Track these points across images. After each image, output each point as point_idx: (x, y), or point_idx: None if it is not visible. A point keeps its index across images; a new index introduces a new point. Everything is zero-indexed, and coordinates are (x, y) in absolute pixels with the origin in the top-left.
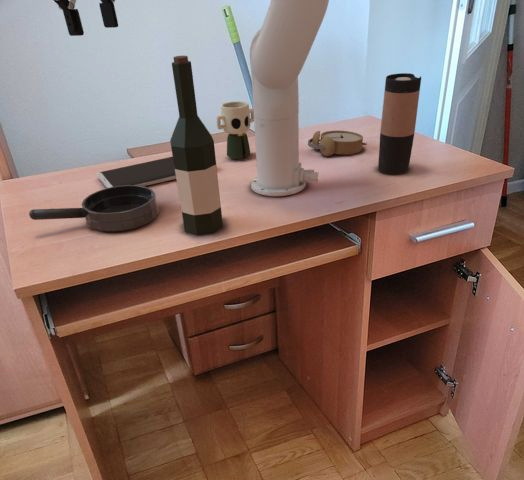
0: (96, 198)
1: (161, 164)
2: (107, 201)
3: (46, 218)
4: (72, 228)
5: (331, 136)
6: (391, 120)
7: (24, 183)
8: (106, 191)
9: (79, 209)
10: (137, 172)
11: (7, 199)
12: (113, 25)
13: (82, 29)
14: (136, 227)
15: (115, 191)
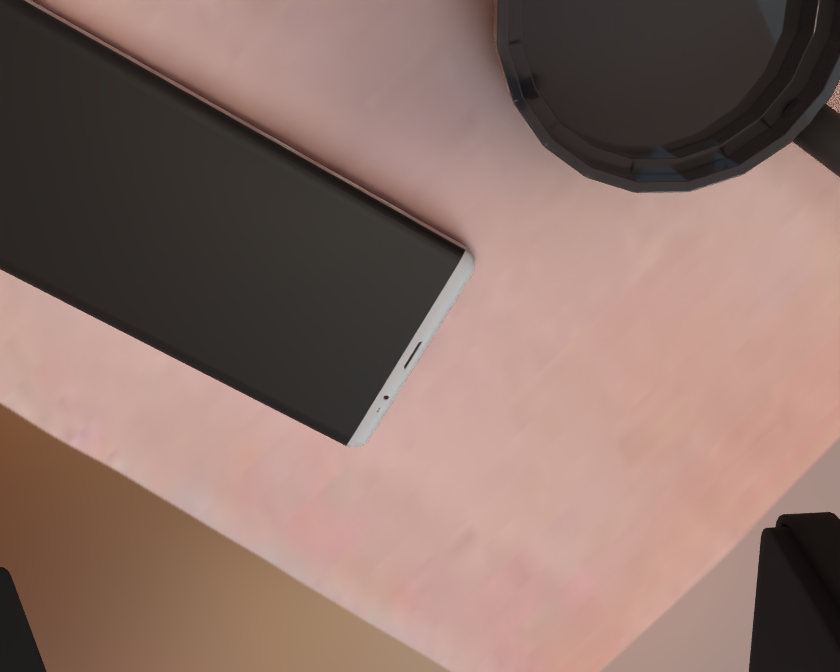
0: (655, 176)
1: (135, 250)
2: (612, 150)
3: None
4: None
5: None
6: None
7: (528, 654)
8: (599, 168)
9: (827, 118)
10: (272, 283)
11: (674, 594)
12: (4, 605)
13: (820, 549)
14: None
15: (563, 145)
